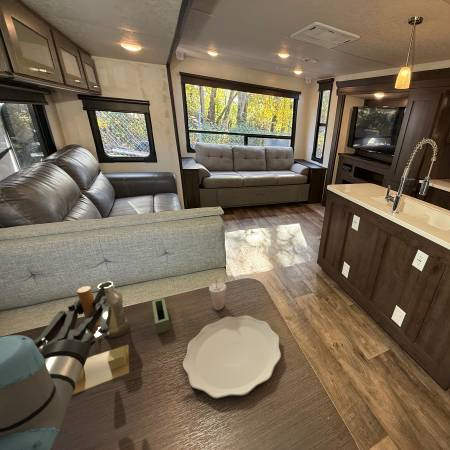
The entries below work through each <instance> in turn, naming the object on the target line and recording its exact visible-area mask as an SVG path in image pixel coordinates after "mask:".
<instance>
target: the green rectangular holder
mask: <svg viewBox="0 0 450 450" xmlns="http://www.w3.org/2000/svg"><path fill="white" fill-rule="evenodd" d="M151 304H152V311H153V319H154V325H155V330H156V334H157V335H159V334H163V333H165V332H168V331H170V330H171V324H170V319H169V315H168V310H167V309H168V308H167V305H166V300H165V297H162V298H158V299H154V300H151ZM160 311H162V312H163V317H164V318H163V319H159V315H158V312H160Z"/></svg>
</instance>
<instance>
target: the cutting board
mask: <svg viewBox="0 0 450 450" xmlns="http://www.w3.org/2000/svg"><path fill="white" fill-rule="evenodd" d="M123 346H124V349H125V353H126V365H124V366H121V367H118V368H116V369H113V370H110V367H109V364H108V355H109V351H110V350H107V351H104V352H100V353H97V354H95V355H91V356H88V357H87V360H86V362H85V365H84V372H83V379H82V380H81V381H78V382H77V385H76V387H75V390H74V392H73V395H76V394H78V393H81V392H83V391H86V390H88V389H91V388H93V387H96V386H98V385H101V384H103V383H106V382H108V381H112V380H114V379H116V378H120V377H122V376H124V375H128V374H130V353H129V351H130V350H129V347H130V346H129V344H125V345H123Z"/></svg>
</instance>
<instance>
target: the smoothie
mask: <svg viewBox="0 0 450 450" xmlns="http://www.w3.org/2000/svg"><path fill="white" fill-rule="evenodd" d="M226 291H227V285H226V283H224V282H221V281H218V278H217V277H215V282H214V283H211V284H210V285H209V287H208V292H209V293H210V296H211V300H212V301H211V302H212V305H213V309H214V310H216V311H219V310H222V309H224V306H225V297H226Z"/></svg>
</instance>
